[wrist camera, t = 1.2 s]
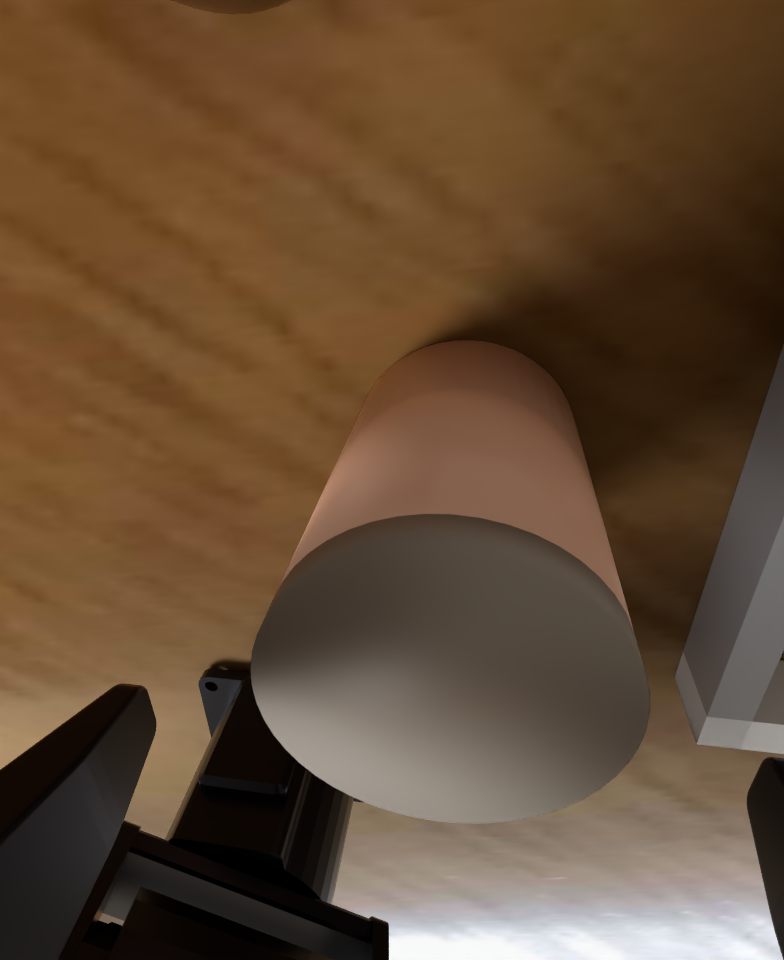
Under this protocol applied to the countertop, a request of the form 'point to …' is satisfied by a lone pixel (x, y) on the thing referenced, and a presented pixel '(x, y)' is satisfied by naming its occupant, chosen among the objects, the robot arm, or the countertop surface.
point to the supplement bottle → (232, 5)
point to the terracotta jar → (456, 604)
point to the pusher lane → (744, 606)
